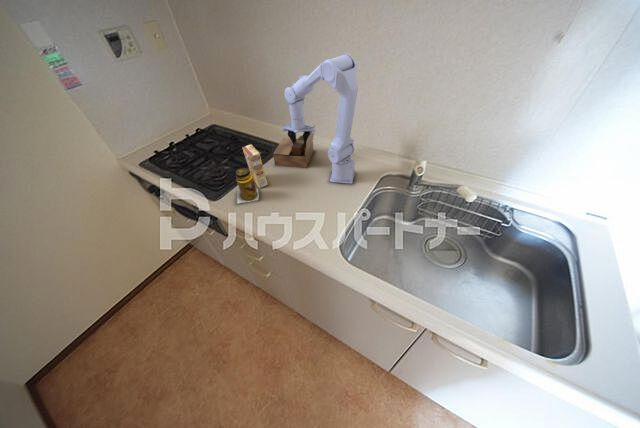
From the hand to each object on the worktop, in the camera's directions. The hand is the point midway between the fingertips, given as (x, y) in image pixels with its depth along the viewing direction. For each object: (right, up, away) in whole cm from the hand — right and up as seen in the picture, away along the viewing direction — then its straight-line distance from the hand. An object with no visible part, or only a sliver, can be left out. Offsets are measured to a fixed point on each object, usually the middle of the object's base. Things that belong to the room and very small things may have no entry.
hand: (300, 146), depth 110 cm
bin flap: (+4, +2, -3) cm, 6 cm away
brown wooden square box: (-3, -4, +5) cm, 7 cm away
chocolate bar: (0, -1, +1) cm, 2 cm away
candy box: (-17, -17, -7) cm, 25 cm away
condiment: (-20, -24, -14) cm, 34 cm away
